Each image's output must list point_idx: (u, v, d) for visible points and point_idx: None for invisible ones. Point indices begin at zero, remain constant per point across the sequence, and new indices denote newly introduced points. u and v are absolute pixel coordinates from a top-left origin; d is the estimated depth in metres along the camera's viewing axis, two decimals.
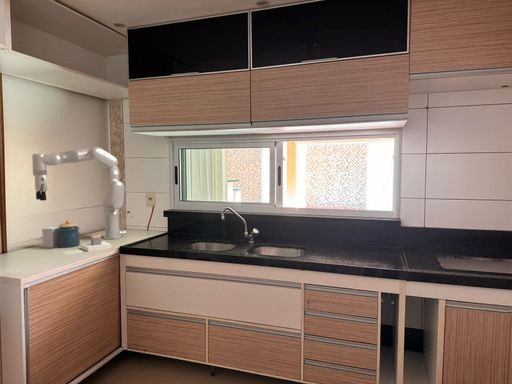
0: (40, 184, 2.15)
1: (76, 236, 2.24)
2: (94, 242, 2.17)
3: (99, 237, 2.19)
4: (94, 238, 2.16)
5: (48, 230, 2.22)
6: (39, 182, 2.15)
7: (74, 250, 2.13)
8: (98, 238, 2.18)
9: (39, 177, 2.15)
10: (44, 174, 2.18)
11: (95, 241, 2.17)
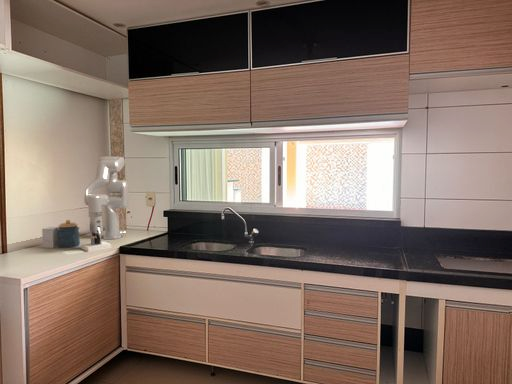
0: (96, 226, 2.14)
1: (76, 236, 2.24)
2: (94, 242, 2.16)
3: None
4: (94, 238, 2.16)
5: (48, 230, 2.22)
6: (95, 224, 2.14)
7: (74, 250, 2.13)
8: None
9: (95, 219, 2.14)
10: (100, 216, 2.17)
11: None
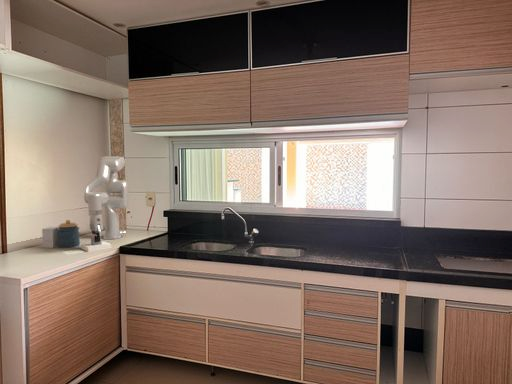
0: (96, 224, 2.14)
1: (76, 236, 2.24)
2: (94, 240, 2.17)
3: None
4: (94, 236, 2.16)
5: (48, 230, 2.22)
6: (95, 222, 2.14)
7: (74, 250, 2.13)
8: None
9: (95, 217, 2.14)
10: (100, 214, 2.17)
11: None
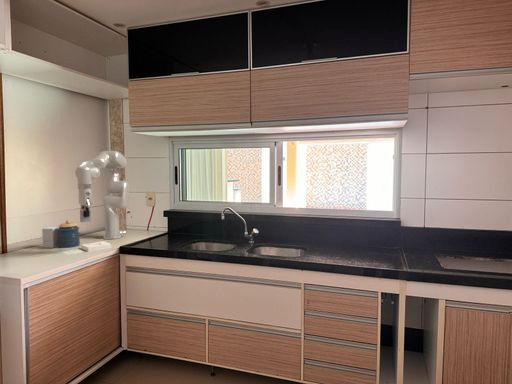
0: (86, 198, 2.08)
1: (76, 236, 2.24)
2: (83, 215, 2.11)
3: None
4: (83, 211, 2.11)
5: (48, 230, 2.22)
6: (85, 196, 2.08)
7: (74, 250, 2.13)
8: None
9: (85, 191, 2.08)
10: (89, 188, 2.11)
11: None
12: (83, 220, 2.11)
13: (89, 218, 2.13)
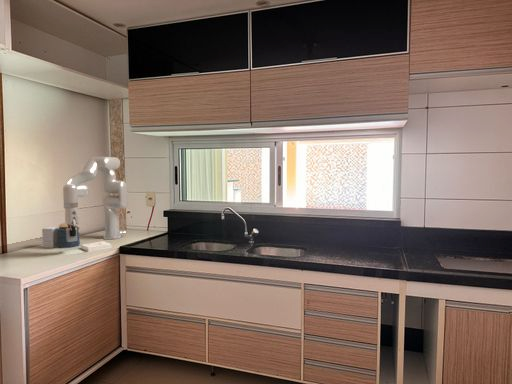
0: (71, 218, 2.03)
1: None
2: (69, 234, 2.06)
3: None
4: (69, 230, 2.06)
5: (48, 230, 2.22)
6: (70, 216, 2.03)
7: (74, 250, 2.13)
8: None
9: (70, 210, 2.03)
10: (75, 207, 2.06)
11: None
12: (69, 240, 2.06)
13: (75, 237, 2.08)
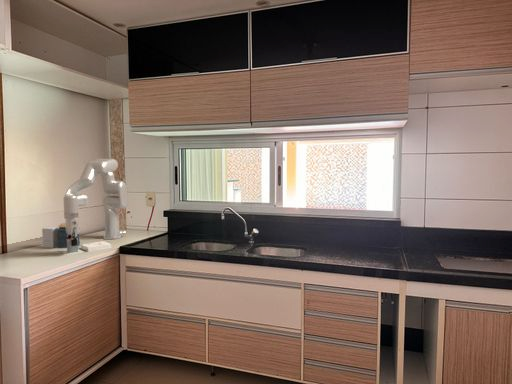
0: (72, 228, 2.04)
1: None
2: (70, 246, 2.07)
3: None
4: (70, 241, 2.06)
5: (48, 230, 2.22)
6: (71, 226, 2.04)
7: None
8: None
9: (71, 220, 2.04)
10: (76, 217, 2.07)
11: None
12: (70, 251, 2.07)
13: (76, 248, 2.09)
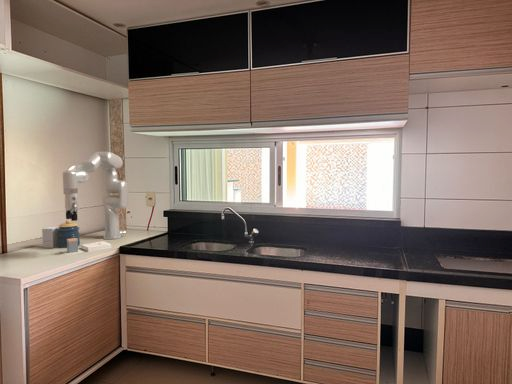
0: (71, 203, 2.03)
1: (76, 236, 2.24)
2: (70, 246, 2.07)
3: (75, 240, 2.09)
4: (70, 241, 2.06)
5: (48, 230, 2.22)
6: (70, 201, 2.03)
7: None
8: (74, 242, 2.08)
9: (70, 196, 2.03)
10: (75, 193, 2.06)
11: (71, 244, 2.07)
12: (70, 251, 2.07)
13: (76, 248, 2.09)
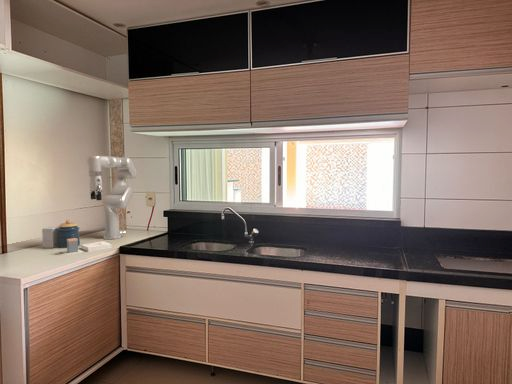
0: (96, 185, 2.26)
1: (76, 236, 2.24)
2: (70, 246, 2.07)
3: (75, 240, 2.09)
4: (70, 241, 2.06)
5: (48, 230, 2.22)
6: (95, 183, 2.26)
7: None
8: (74, 242, 2.08)
9: (95, 178, 2.26)
10: (99, 175, 2.29)
11: (71, 244, 2.07)
12: (70, 251, 2.07)
13: (76, 248, 2.09)
